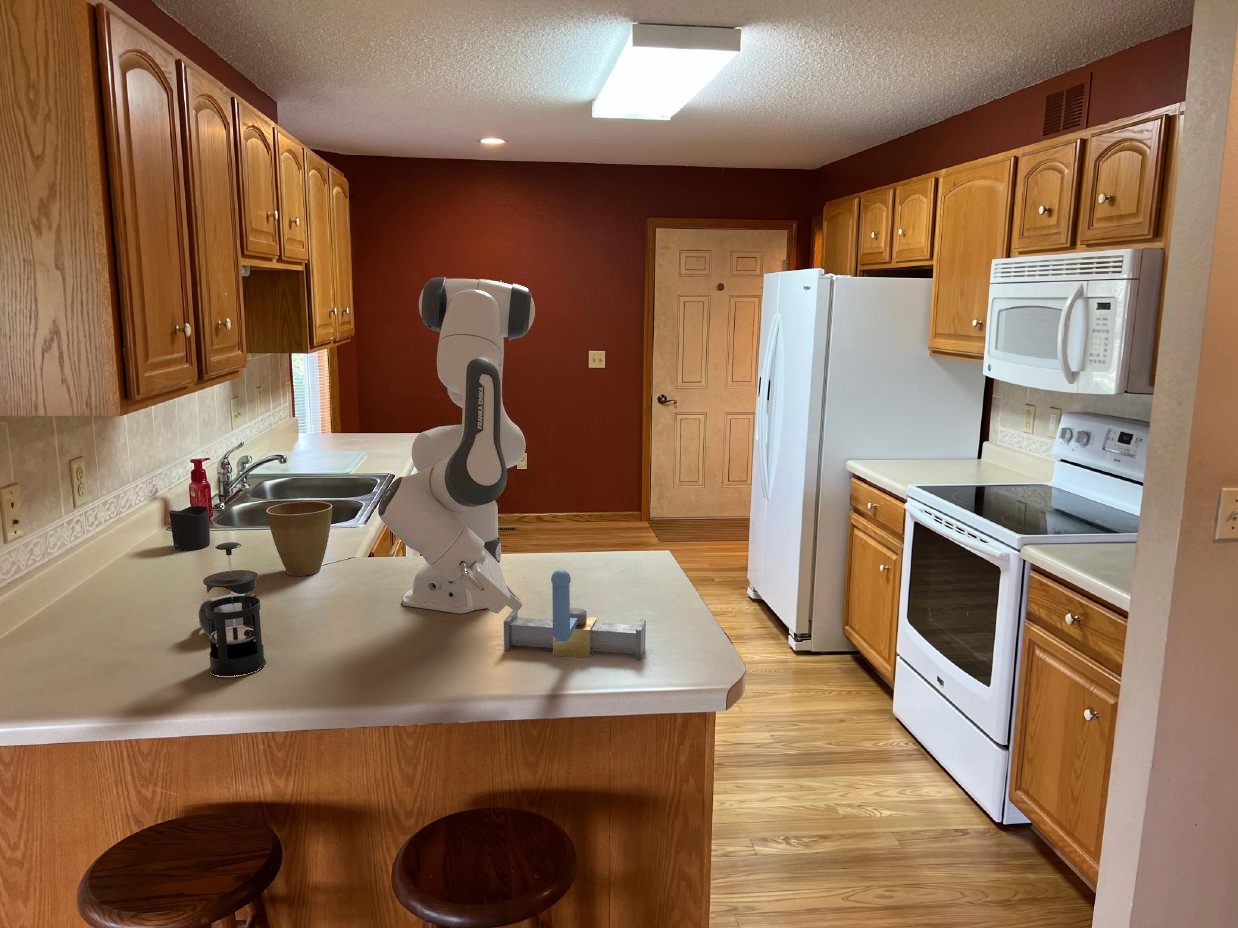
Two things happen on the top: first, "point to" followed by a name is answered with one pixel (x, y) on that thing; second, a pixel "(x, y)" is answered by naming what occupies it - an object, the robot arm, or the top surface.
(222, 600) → the french press
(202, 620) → the ceramic mug
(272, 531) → the plant pot
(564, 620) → the lever
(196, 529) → the pen holder
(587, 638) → the valve pipe
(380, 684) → the top surface
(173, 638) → the top surface
